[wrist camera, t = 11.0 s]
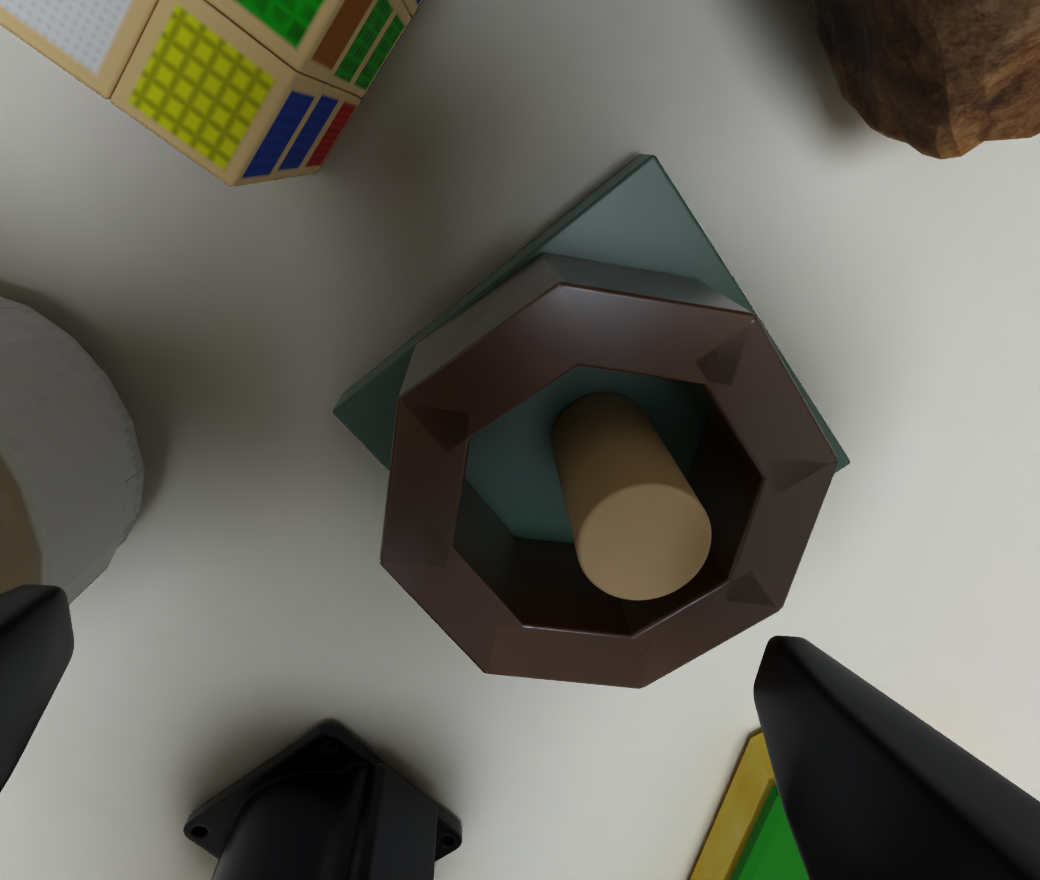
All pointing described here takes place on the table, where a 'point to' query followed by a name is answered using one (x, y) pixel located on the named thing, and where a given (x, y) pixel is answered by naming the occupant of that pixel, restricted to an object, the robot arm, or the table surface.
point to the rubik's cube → (224, 70)
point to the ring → (554, 566)
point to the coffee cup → (60, 458)
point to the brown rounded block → (937, 68)
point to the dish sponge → (751, 828)
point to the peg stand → (593, 410)
